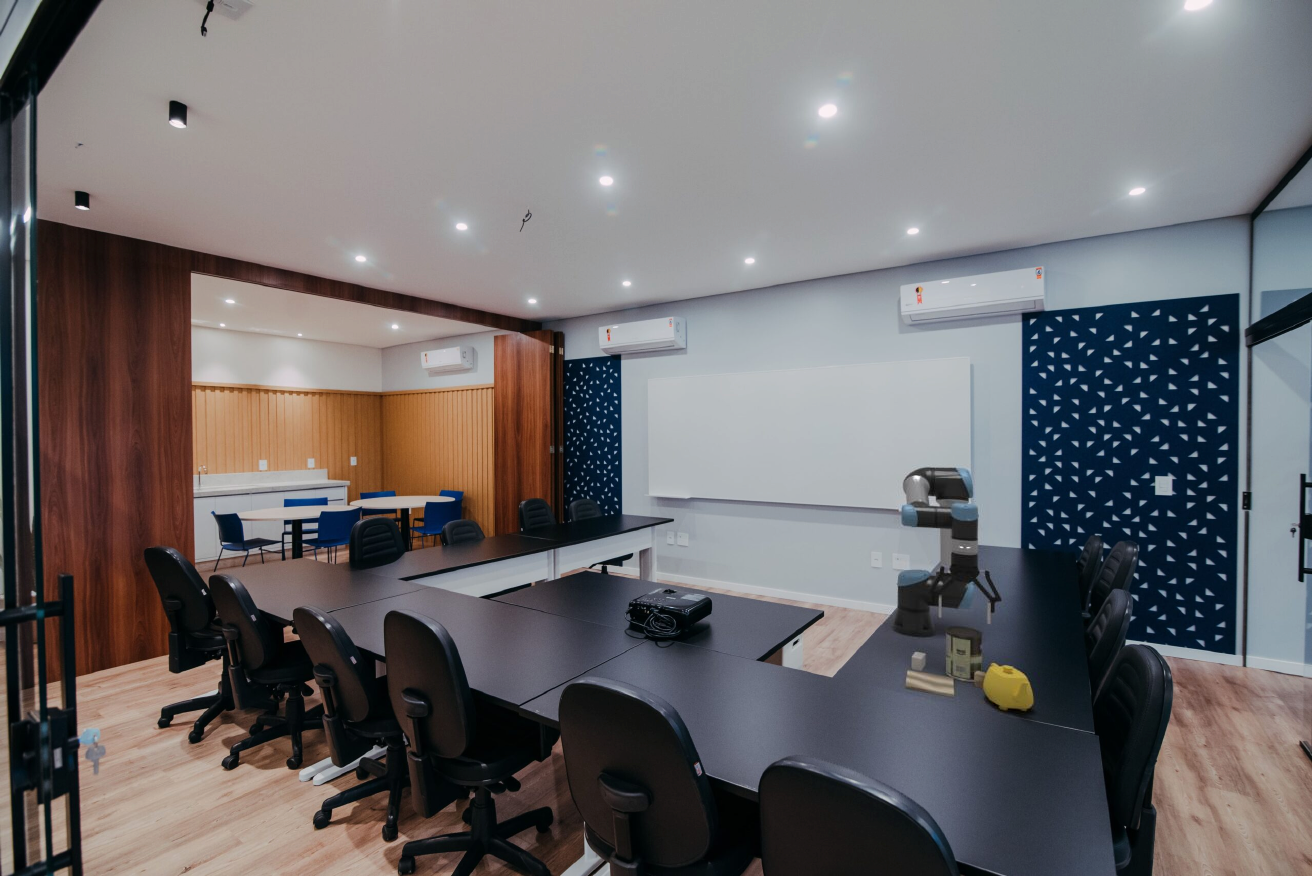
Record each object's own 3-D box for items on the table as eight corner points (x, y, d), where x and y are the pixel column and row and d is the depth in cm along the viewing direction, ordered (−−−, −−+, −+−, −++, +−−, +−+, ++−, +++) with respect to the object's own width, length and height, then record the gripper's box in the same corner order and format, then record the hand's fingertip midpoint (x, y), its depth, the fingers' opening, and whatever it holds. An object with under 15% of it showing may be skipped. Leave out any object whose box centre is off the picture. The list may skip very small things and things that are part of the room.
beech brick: (974, 686, 172) (974, 673, 172) (977, 683, 174) (977, 670, 174) (996, 692, 168) (996, 679, 168) (999, 689, 170) (999, 676, 170)
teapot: (1049, 722, 150) (1050, 681, 150) (1007, 720, 151) (1007, 680, 151) (1010, 691, 168) (1010, 655, 168) (972, 690, 169) (972, 654, 169)
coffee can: (975, 670, 184) (975, 627, 184) (987, 683, 174) (987, 637, 174) (941, 667, 186) (941, 624, 186) (950, 680, 176) (951, 635, 176)
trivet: (907, 672, 182) (907, 669, 182) (953, 680, 176) (953, 677, 176) (905, 688, 170) (905, 685, 170) (954, 697, 164) (954, 694, 164)
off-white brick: (915, 663, 189) (915, 651, 189) (925, 665, 188) (925, 653, 188) (911, 669, 185) (911, 656, 185) (921, 671, 183) (921, 659, 183)
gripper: (920, 550, 182) (920, 616, 182) (1011, 558, 171) (1011, 629, 171) (921, 547, 189) (921, 610, 188) (1009, 554, 178) (1008, 622, 177)
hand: (963, 619), depth 180 cm, fingers open, 13 cm apart
